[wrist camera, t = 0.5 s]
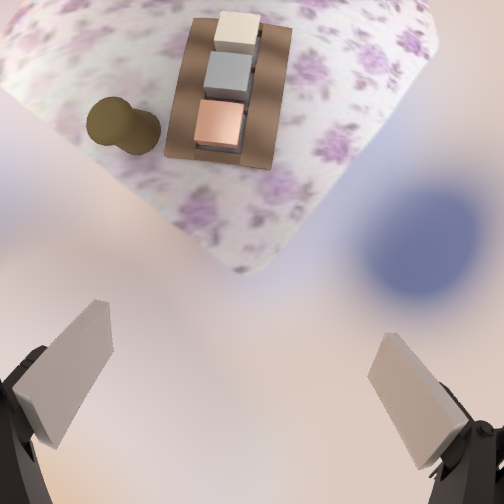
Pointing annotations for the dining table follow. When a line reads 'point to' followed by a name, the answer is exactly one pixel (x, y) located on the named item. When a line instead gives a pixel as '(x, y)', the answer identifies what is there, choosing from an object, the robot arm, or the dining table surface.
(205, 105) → the key terracotta
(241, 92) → the key slate
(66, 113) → the dining table surface
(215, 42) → the cream cube
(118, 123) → the pepper shaker
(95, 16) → the dining table surface
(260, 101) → the wooden slotted tray
